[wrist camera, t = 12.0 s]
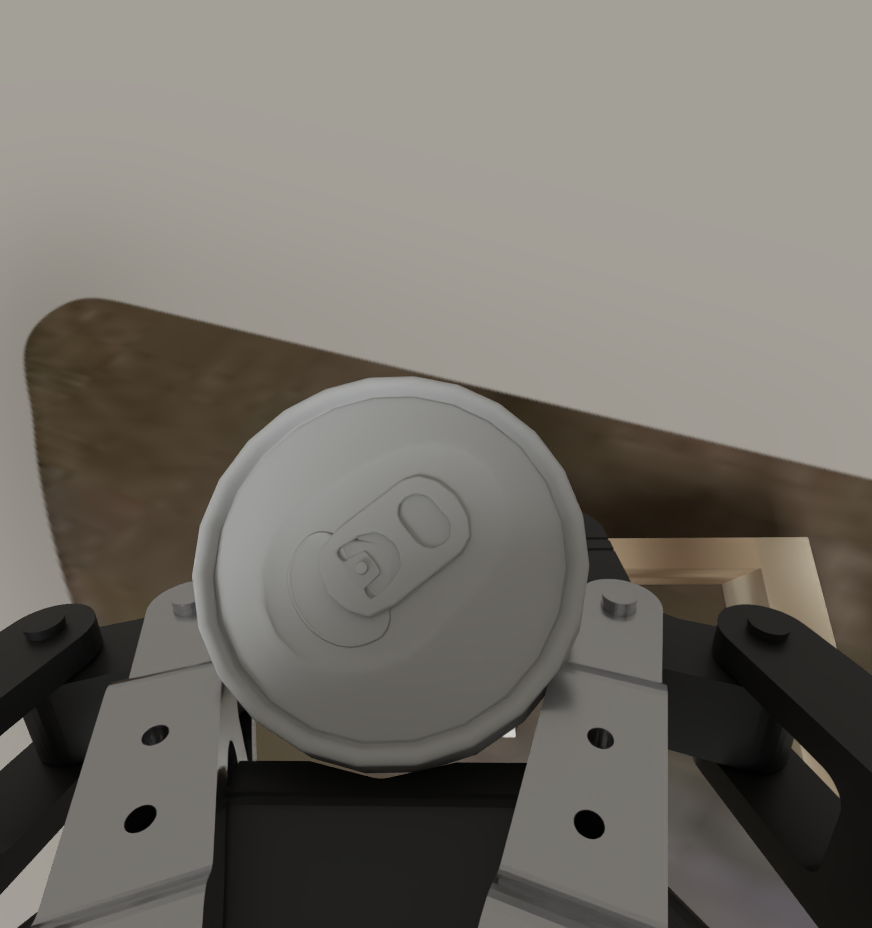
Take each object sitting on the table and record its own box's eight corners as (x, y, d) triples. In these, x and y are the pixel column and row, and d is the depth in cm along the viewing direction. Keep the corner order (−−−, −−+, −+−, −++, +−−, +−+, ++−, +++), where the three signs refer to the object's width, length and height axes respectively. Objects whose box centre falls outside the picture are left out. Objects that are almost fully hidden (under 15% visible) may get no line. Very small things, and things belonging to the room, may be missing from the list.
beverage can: (324, 630, 18) (106, 516, 7) (442, 537, 19) (424, 304, 8) (417, 764, 16) (336, 909, 5) (540, 655, 17) (695, 575, 6)
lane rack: (763, 557, 29) (807, 537, 25) (823, 826, 24) (888, 849, 21) (536, 558, 29) (547, 538, 26) (554, 823, 25) (571, 845, 21)
